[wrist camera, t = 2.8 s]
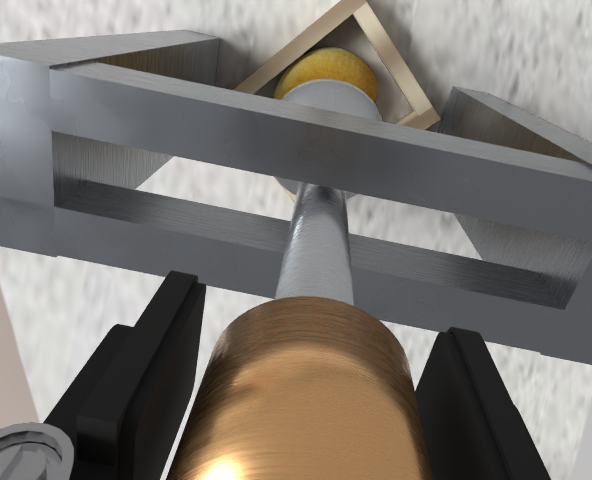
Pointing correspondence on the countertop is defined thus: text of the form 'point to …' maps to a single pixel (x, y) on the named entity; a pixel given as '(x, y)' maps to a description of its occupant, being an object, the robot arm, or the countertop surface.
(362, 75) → the bread roll
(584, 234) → the frame
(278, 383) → the plunger
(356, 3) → the cradle
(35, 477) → the robot arm
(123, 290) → the countertop surface
